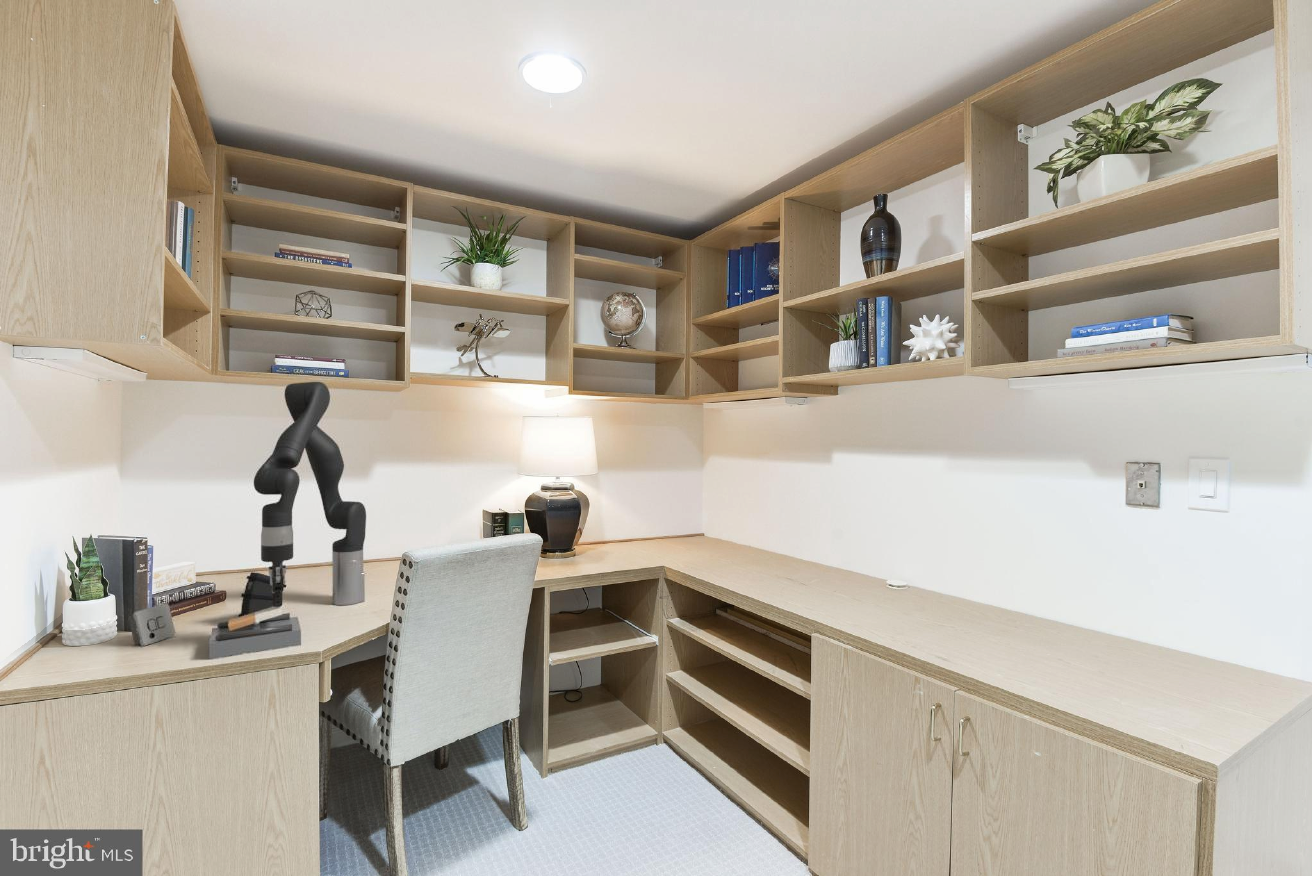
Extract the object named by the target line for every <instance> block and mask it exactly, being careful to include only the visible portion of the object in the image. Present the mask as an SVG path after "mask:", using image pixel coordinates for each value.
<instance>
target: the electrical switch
mask: <svg viewBox="0 0 1312 876" xmlns="http://www.w3.org/2000/svg"><path fill="white" fill-rule="evenodd" d="M127 618H128V619H127V620H128V623H129V626H130V631H131V635H132V638H133V642H134V645H135V646H136V645H140V646H142V647H146V646H148V644H149V645H152V644H155V643H156V642H160V641H162V640H166V639H169V638H171V637H173V636H175V635H176V633H177V632H176V630H175V626H174V621H173V617H172V614H171V608H170V605H169V604H168V603H161V604H158V605H154V606H151V607H148V608H143V609H140V610H137V611H134V613H133V614H132V615H131V616H128V617H127Z"/></svg>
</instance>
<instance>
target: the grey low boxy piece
mask: <svg viewBox="0 0 1312 876" xmlns="http://www.w3.org/2000/svg"><path fill="white" fill-rule="evenodd" d="M228 623H229V620H227V621H221V622H219V623H217V624H216V625H217V627H212V628H211V632H210V637H209V638H210V639H209V642H208V643H209V644H208V648H209V654H208V655H209V656H208V657H209V660H213V659H212V658H215V659H220V657H221V658H225V657H224V656H228V657H231V656H230V655H234V656H239V655H238V654H240V655H244V654H243V653H247V654H252V653H251V652H253V653H256V652H255V651H259V652H264V650H266V651H270V650H269V649H272V650H277V648H278V649H283V648H290V647H289V646H291V647H297V646H301V645H302V629H301V624H300V620H299V618H298V616H293V617H292V616H291V614H290V612H287V613H282V615H279V616H276V617H273V618H269V619H266V620H263V621H260V622H259V624H258V625H254V623H253V624H250V625H247V626H244V627H241V628H237V629H234V630H231V631H229V627H228ZM300 644H301V645H300Z"/></svg>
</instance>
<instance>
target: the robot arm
mask: <svg viewBox="0 0 1312 876" xmlns="http://www.w3.org/2000/svg"><path fill="white" fill-rule="evenodd" d="M284 401H285V405H286V406H287V410H288V411H289V414H290V416H291V418H292V420H293V422H292V423H291V425H289V426H288V427H287V428H286V429H284V431H283V432H282V433H281V434H280V435H279V437H278V440H277V442H276V444H275V446H274V449H273V451H272V454H271V455H270V456H269V457H268V458H267V460H265V462H264V463H263V464H262V465H261V466H260V467H259V468H258V470H257V471H256V473H255V476H254V478H253V487H254V489H255V491H256V492H257V493H259V494H261V495H263V496H265V495H266V496H267V495H268V496H269V495H270V496H271V495H274V496H276V495H277V496H278V495H280V498H279V499H278V501H277V502H273V503H268V504H265V505H264V506H262V509H261V531H260V532H261V534H260V560H261V561H262V562H264V563H271V564H272V565H271V566H268V576H270V585H271V587H272V593H273V607H280V606H281V607H282V606H283V599H282V598H283V593H284V588H283V584H285V585H286V582H285V581H286V574H287V566H286V564H283V563H284V562H285V561H289V560H292V559H293V558H294V529H293V508H294V503H295V500H296V499H295V498H296V496H297V493H298V491H299V487H300V481H301V480H300V475H299V473H298V472H297V471H296V470H295V468H296V467H298V465H299V464H300V462H301V459H302V457H303V453H304V452H306V456H307V459H308V462H309V464H310V468H311V471H312V474H313V475H314V478H315V481H316V485H317V487H318V491H319V495H320V498H321V502H322V508H323V511H324V517H325V519H326V523H327V524H328V526H329V527H330V528H332V529H334V530H345V536H344V537H343V538H341V539H338V540H335V541H334V542H332V547H331V549H332V551H331V553H332V554H331V555H332V556H331V557H332V559H331V560H332V561H331V562H332V564H331V565H332V571H331V573H332V596H331V597H332V604H333V605H336V606H347V605H348V606H349V605H350V606H351V605H355V604H359V603H362V602H363V603H364V602H365V599H366V597H365V595H366V594H365V593H366V592H365V591H366V589H365V582H366V581H365V580H366V579H365V575H366V573H365V572H364V544H365V540H366V526H367V511H366V507H365V505H364V504H363V503H362V502H360V501H349V500H347V501H345V500H343V499H342V498H341V495H340V490H339V484H340V480H341V479H342V476H343V474H344V469H345V463H344V460H343V455H342V453H341V450H340V447H339V444H338V443H336V442H335V440H334V439H333V438H332V437H331V436H329V434H327V433H326V432H325V431H323V430H322V429H321V428H320V426H318V424H319V423H320V421H321V420H322V418H323V416H324V414H325V413H326V411H327V409H328V408H329V406H330V401H331V393H330V391H329V388H328V386H327V385H326V384H325V383H324V382H321V381H308V382H307V381H305V382H294V383H290V384H288V385H287V386H286V387H285V388H284Z"/></svg>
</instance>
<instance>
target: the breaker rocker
mask: <svg viewBox="0 0 1312 876" xmlns="http://www.w3.org/2000/svg"><path fill="white" fill-rule="evenodd" d="M282 614H283V611H282V606H280V607H271V608H267V609H264V610H261V611H257V612H254V613H251V614H248V615H244V616H241V617H239V616H238V617H235V618H231V619H228V621H229V623H228V627H229V631H231V630H234V629H237V628H241V627H244V626H247V625H250V624H253V623H254V625H258V624H259V622H260V621H263V620H266V619H269V618H273V617H276V616H279V615H282Z"/></svg>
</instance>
